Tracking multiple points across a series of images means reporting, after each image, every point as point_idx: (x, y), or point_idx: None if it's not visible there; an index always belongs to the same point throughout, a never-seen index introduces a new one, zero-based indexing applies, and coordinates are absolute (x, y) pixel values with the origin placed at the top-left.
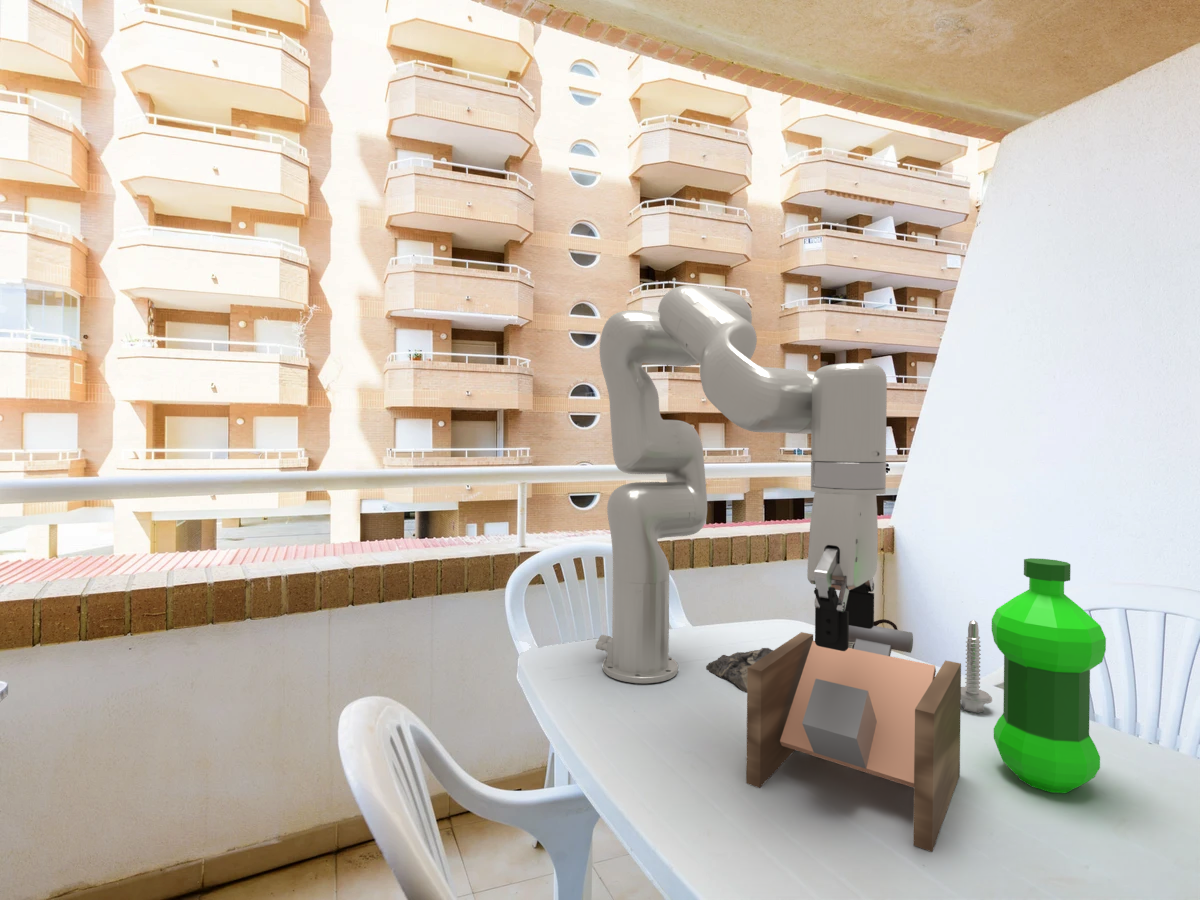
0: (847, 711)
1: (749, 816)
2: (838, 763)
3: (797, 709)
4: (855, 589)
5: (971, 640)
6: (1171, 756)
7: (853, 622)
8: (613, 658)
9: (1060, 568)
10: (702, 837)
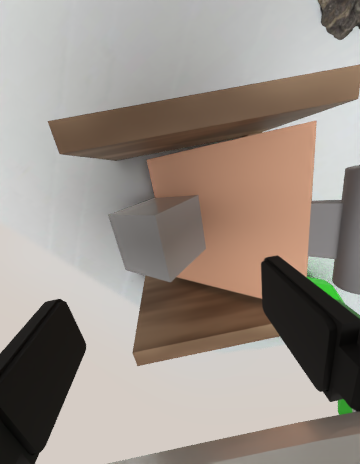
0: (141, 260)
1: (74, 179)
2: None
3: (182, 161)
4: (345, 366)
5: None
6: None
7: (264, 282)
8: None
9: None
10: (16, 171)
